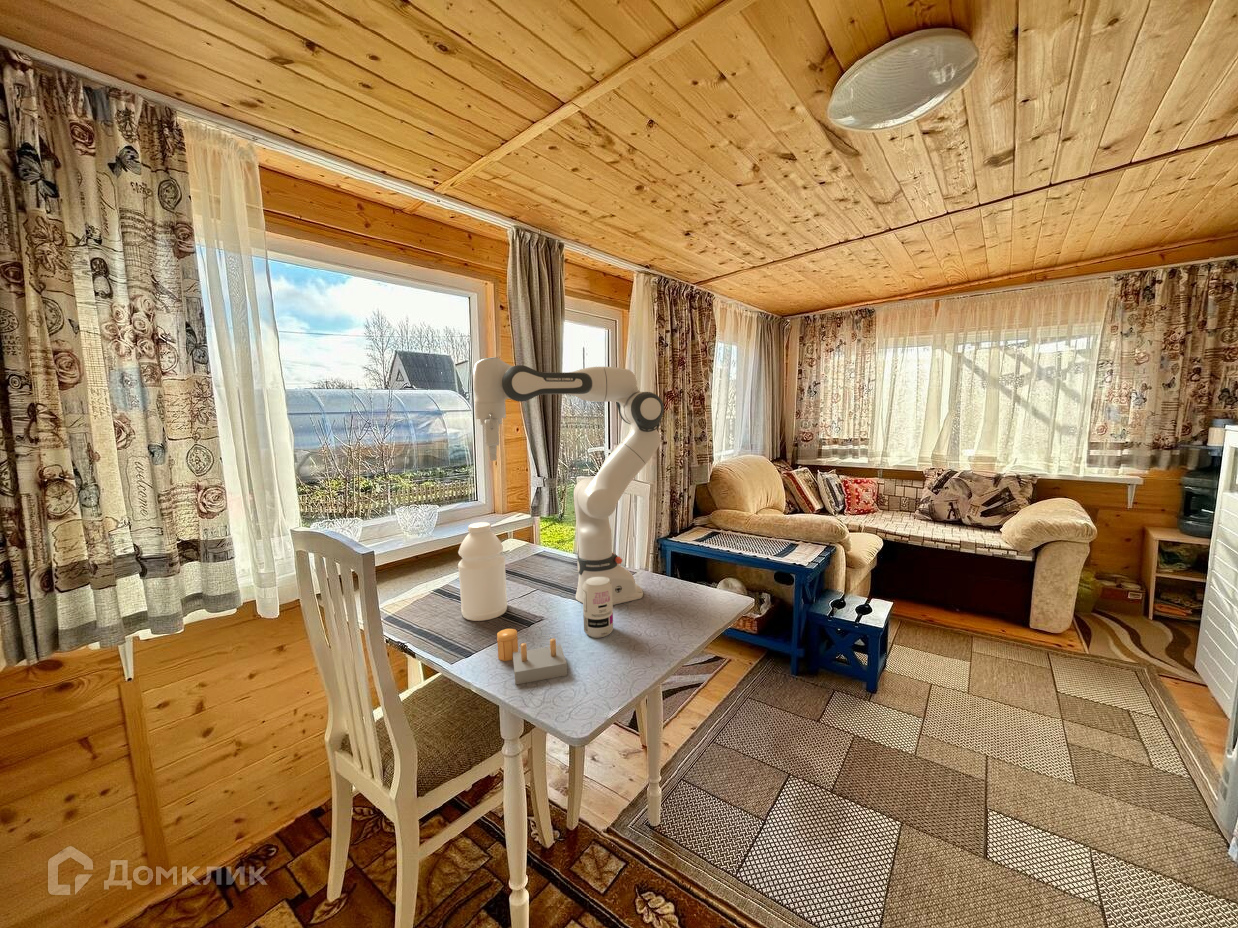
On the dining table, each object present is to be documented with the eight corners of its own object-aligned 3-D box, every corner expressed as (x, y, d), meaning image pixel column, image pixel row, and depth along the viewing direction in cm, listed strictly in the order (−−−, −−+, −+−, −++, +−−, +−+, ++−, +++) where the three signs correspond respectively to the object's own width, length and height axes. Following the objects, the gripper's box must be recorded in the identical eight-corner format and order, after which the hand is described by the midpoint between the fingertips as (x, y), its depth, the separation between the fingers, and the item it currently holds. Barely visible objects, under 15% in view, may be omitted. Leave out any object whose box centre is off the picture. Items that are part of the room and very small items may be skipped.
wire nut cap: (517, 649, 122) (516, 627, 121) (518, 658, 117) (517, 636, 116) (498, 652, 120) (496, 630, 120) (498, 662, 116) (497, 639, 115)
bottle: (495, 623, 137) (489, 531, 133) (452, 620, 139) (446, 530, 136) (514, 603, 150) (510, 519, 147) (476, 601, 153) (470, 518, 150)
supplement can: (597, 622, 136) (595, 573, 134) (619, 630, 131) (617, 579, 129) (578, 633, 130) (576, 581, 128) (600, 641, 124) (598, 588, 123)
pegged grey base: (561, 655, 118) (560, 629, 117) (567, 675, 109) (565, 647, 108) (513, 664, 115) (511, 637, 114) (515, 684, 106) (513, 656, 105)
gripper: (502, 412, 130) (505, 461, 131) (500, 412, 149) (503, 455, 151) (479, 413, 128) (482, 463, 130) (480, 413, 147) (483, 456, 149)
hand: (493, 458), depth 140 cm, fingers open, 8 cm apart
